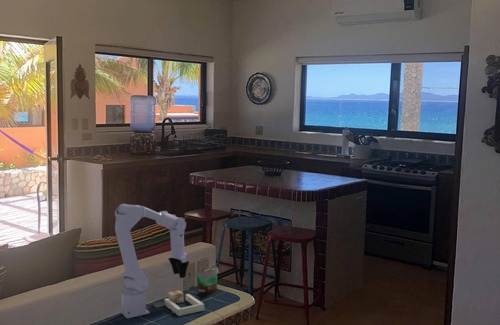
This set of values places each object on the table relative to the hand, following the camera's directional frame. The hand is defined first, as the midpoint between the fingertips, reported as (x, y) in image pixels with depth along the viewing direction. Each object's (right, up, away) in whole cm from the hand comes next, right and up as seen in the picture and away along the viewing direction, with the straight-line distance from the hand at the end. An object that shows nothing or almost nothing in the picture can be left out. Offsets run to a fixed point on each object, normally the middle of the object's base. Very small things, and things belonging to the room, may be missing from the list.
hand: (179, 275), depth 232 cm
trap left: (-7, -11, -8) cm, 15 cm away
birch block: (-1, -10, -5) cm, 11 cm away
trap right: (+6, -9, -1) cm, 11 cm away
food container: (+13, -9, +7) cm, 17 cm away
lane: (+3, -10, -12) cm, 16 cm away
